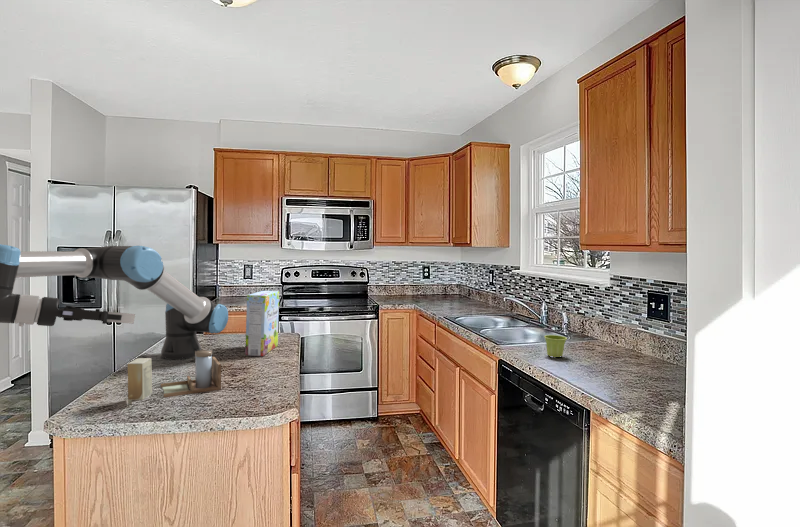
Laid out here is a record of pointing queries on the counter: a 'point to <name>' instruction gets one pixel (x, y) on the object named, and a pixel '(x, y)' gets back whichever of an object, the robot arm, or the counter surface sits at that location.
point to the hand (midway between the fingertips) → (129, 318)
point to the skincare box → (139, 379)
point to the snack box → (262, 322)
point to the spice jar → (203, 368)
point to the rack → (182, 388)
